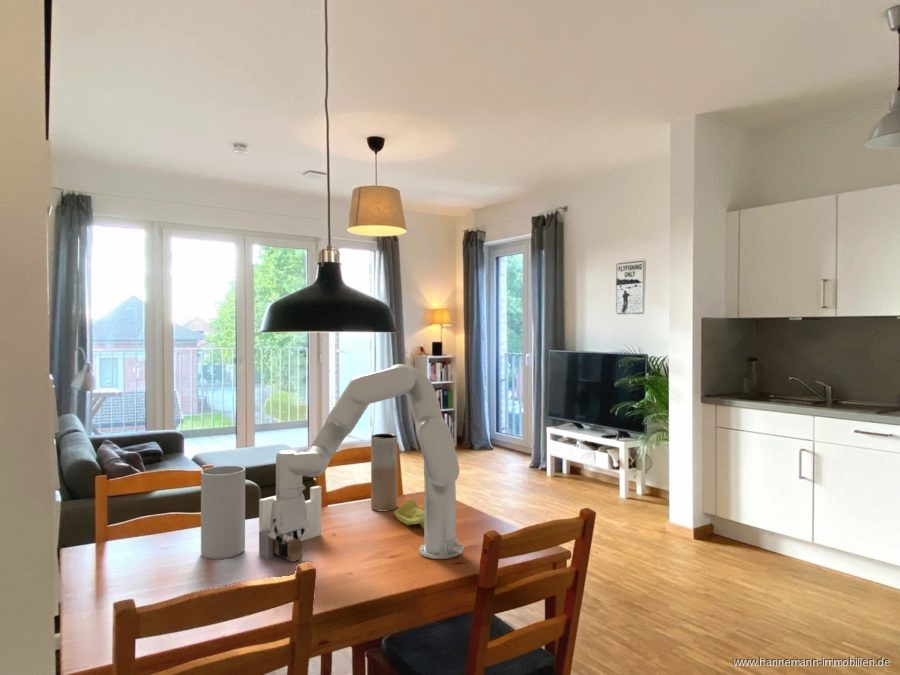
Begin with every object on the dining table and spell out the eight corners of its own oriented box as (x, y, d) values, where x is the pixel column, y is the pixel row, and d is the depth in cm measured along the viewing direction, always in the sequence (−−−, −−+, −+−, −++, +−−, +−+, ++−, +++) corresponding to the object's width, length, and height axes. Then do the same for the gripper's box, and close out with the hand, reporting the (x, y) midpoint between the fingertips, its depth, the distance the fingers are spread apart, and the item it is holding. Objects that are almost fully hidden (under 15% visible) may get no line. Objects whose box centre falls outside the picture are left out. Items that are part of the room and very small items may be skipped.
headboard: (330, 538, 189) (330, 489, 189) (268, 558, 172) (268, 504, 172) (317, 533, 194) (317, 485, 194) (255, 553, 176) (255, 500, 176)
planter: (388, 502, 231) (388, 432, 231) (401, 508, 223) (402, 436, 223) (366, 507, 225) (366, 435, 225) (379, 513, 217) (379, 438, 217)
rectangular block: (302, 558, 171) (302, 538, 171) (292, 561, 168) (292, 541, 168) (277, 547, 179) (277, 528, 179) (267, 550, 176) (267, 531, 176)
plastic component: (392, 512, 211) (414, 497, 215) (401, 529, 212) (423, 514, 216) (414, 523, 193) (438, 506, 198) (423, 542, 194) (447, 525, 199)
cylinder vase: (222, 562, 169) (222, 476, 169) (191, 556, 174) (191, 472, 174) (253, 548, 180) (254, 468, 180) (223, 542, 185) (224, 464, 185)
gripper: (305, 484, 181) (305, 544, 181) (257, 496, 168) (257, 559, 168) (319, 488, 176) (320, 549, 176) (271, 500, 163) (272, 566, 163)
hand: (289, 553), depth 172 cm, fingers closed on rectangular block, 3 cm apart
